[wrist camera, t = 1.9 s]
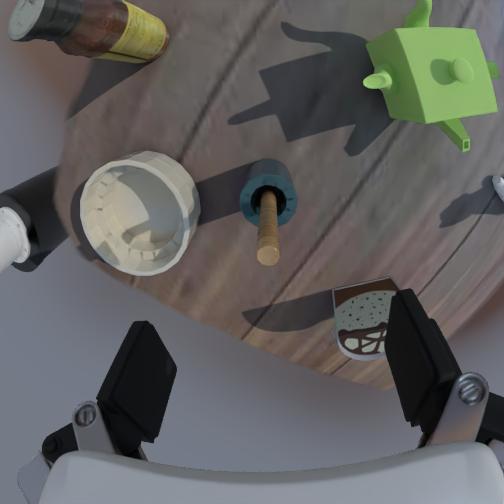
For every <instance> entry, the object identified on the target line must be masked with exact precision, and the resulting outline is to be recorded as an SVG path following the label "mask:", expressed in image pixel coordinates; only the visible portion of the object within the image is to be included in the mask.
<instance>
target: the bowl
mask: <svg viewBox="0 0 504 504" xmlns="http://www.w3.org/2000/svg"><path fill="white" fill-rule="evenodd" d="M200 213H201V208H200V199H199V193H198V191H197V188H196V186H195V184H194V182H193V179H192V177H191V176H190V175H189V174H188V173H187V171H186V170H185V169H184V168H183V167H182V166H181V165H180V164H179V163H178V162H176V161H175V160H173V159H171V158H170V157H168V156H166V155H165V154H162V153H157V152H152V151H140V152H133V153H129V154H127V155H125V156H123V157H120V158H118V159H116V160H114V161H111V162H109V163H108V164H106V165H104V166H103V167H101V168H99V169H98V170H96V171H95V172H94V173H93V175H92V176H91V177H90V179H89V180H88V181H87V183H86V184H85V187H84V190H83V193H82V196H81V200H80V218H81V222H82V225H83V229H84V233H85V235H86V237H87V238H88V240H89V242H90V244H91V245H92V247H93V248H94V250H95V251H96V252H97V253H98V254H99V255H100V256H101V257H102V258H103V259H104V260H105V261H106V262H107V263H109V264H110V265H112V266H113V267H115V268H117V269H118V270H120V271H123V272H126V273H129V274H133V275H141V276H151V275H155V274H158V273H161V272H165V271H167V270H168V269H169V268H170V267H172V266H173V265H174V264H176V263H177V262H178V261H179V259H180V258H181V256H182V254H183V253H184V251H185V250H186V248H187V246H188V244H189V242H190V240H191V238H192V237H193V235H194V233H195V231H196V229H197V227H198V222H199V218H200Z"/></svg>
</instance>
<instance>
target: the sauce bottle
mask: <svg viewBox="0 0 504 504" xmlns="http://www.w3.org/2000/svg"><path fill="white" fill-rule="evenodd" d="M8 36H9V38H10V39H11V40H13V41H21V42H24V41H26V42H27V41H30V40H33V39H43V40H47V41H54V42H55V43H56V44H57V45H58V47H59V48H60V49H61V50H62V51H63V52H64V53H66V54H68V55H75V56H79V55H80V56H85V57H89V58H99V59H108V60H116V61H123V62H129V63H145V62H149V61H152V60H155V59H156V58H158V57H159V56H160V55H161V54H162V53H163V52H164V50H165V49H166V48H167V46H168V44H169V40H170V39H169V37H170V33H169V29H168V27H167V26H166V25H165V24H163V22H162V21H161V20H160V19H158V18H157V17H155V16H153V15H151V14H149V13H148V12H146V11H144V10H142V9H140V8H138V7H136V6H134V5H132V4H130V3H128V2H125V1H123V0H20V1H19V2H18V4H17V5H16V7H15V9H14V10H13V13H12V15H11V17H10V20H9V24H8Z"/></svg>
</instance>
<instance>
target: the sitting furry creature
mask: <svg viewBox="0 0 504 504" xmlns="http://www.w3.org/2000/svg"><path fill="white" fill-rule="evenodd" d="M492 183H493V186H494V189H495V190H496V192H497V194H499V197H500V198H501V199H502V201H503V203H504V179H503V178H501V177H500V176H498V175H496V176H493V178H492Z"/></svg>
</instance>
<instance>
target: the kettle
mask: <svg viewBox="0 0 504 504" xmlns="http://www.w3.org/2000/svg"><path fill="white" fill-rule="evenodd" d="M431 10H432V0H418V2H417V4H416V6H415V7H414V9H413V10H412V11H411V12H410V13H409V14H408V15H407V17H406V18H405V20H404V22H403V28H397V29H392V30H390V31H388V32H386V33H385V34H383V35H381V36H379V37H377V38H375V39H374V40H372V41H370V42H368V43H366V44H365V46H366V48H367V51H368V53H369V56H370V58H371V61H372V64H373V66H374V69H375V70H374V74H372V75H370V76H368V77H366V78H365V79H364V81H363V84H364V86H365V87H367V88H371V89H380V90H381V91H382V92H383V95H384V98H385V102H386V105H387V108H388V112H389V115H390V118H395V119H401V120H406V121H412V122H417V123H422V124H428V123H433V122H435V123H436V124H437V125H438V126H439V127H440V128H441V129H442V130H443V132H444V133H445V134H446V135H447V136H448V137H449V138H450V139H451V140H452V141H453V142H454V143H455V144H456V145H457V147H458V148H459V149H460V150H461V151H462V152H465V151H469V150H470V138H469V137H468V135H467V133H466V131H465V129H464V127H463V125H462V123H461V121H460V120H459V118H460V117H466V116H472V115H479V114H485V113H493V112H498V109H497V104H496V100H495V95H494V90H493V86H492V81H491V79H499V78H500V77H499V71H498V68H497V65H496V63H495V62H489V61H486V60H485V57H484V53H483V51H482V48H481V45H480V42H479V39H478V36H477V34H476V31H475V29H464V28H445V27H429V23H428V20H429V16H430V13H431Z"/></svg>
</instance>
